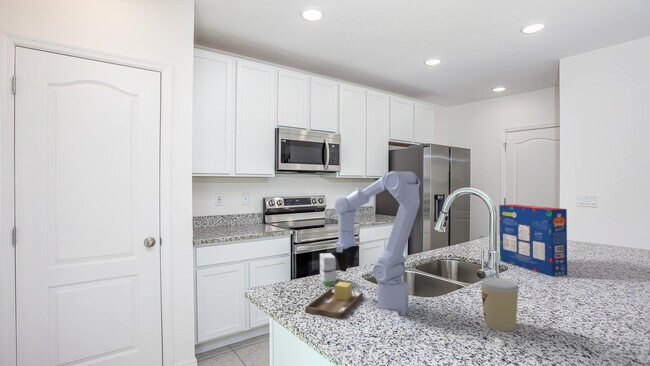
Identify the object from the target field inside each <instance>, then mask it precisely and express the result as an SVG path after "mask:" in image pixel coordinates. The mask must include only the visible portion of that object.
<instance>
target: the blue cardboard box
mask: <svg viewBox="0 0 650 366" xmlns="http://www.w3.org/2000/svg"><path fill="white" fill-rule="evenodd" d="M498 208H499V261H500V262H502V263H505V264H506V263H507V264H509V265H513V266H517V267H520V268H522V269H525V270H529V271H532V272H536V273H539V274H542V275H545V276H549V277H562V276H568V228H567V227H568V225H567V224H568V222H567V221H568V219H567V218H568V215H567V212H568V211H567V208H558V207H557V208H556V207H548V206H547V207H546V206H536V205H535V206H534V205H522V204H499V207H498Z"/></svg>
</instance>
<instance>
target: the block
mask: <svg viewBox="0 0 650 366" xmlns="http://www.w3.org/2000/svg"><path fill="white" fill-rule="evenodd" d="M352 285H353V284H352V282H346V281H339V282H336V285H334V293H335V299H340V300H346V301H347V300H348V299H349V298H350V297H352V295H353V287H352Z"/></svg>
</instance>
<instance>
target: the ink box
mask: <svg viewBox="0 0 650 366" xmlns="http://www.w3.org/2000/svg"><path fill="white" fill-rule="evenodd" d="M336 260H337V258H336V256H335V255H334V254H332V253H331V252H327V253H326V252H324V253H323V252H322V253H319V280H320V282H321V284H323V286H326V287H327V286H335V285H336V284H337V266H336V265H337V264H336V263H337V262H336Z"/></svg>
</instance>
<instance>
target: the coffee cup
mask: <svg viewBox="0 0 650 366" xmlns="http://www.w3.org/2000/svg"><path fill="white" fill-rule="evenodd" d="M480 287H481V300H482V310H483V311H482V312H483V321H484V325H486V326H487V327H489V328H491V329H493V330H497V331H501V332H502V331H503V332H511V331H514V330H515V329H516V327H517V326H516V324H517V316H518V315H517V312H518V299H519V297H518V295H519V290H520V287H519V286H518V284H517V282H515V281H513V280H511V279H507V278H501V277H485V278H482V280H481V281H480Z"/></svg>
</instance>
